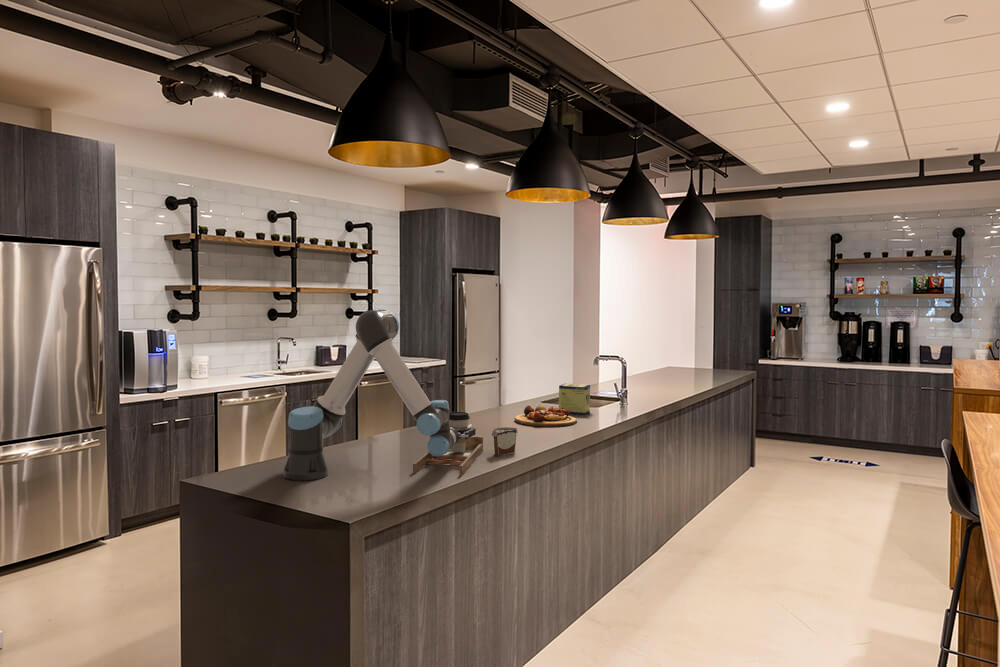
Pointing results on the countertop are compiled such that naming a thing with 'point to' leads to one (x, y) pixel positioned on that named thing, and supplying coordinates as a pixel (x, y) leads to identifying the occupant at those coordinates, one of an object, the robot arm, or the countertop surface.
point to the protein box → (575, 398)
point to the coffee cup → (459, 422)
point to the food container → (504, 440)
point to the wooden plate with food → (545, 417)
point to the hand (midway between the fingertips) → (459, 427)
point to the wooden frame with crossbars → (454, 456)
